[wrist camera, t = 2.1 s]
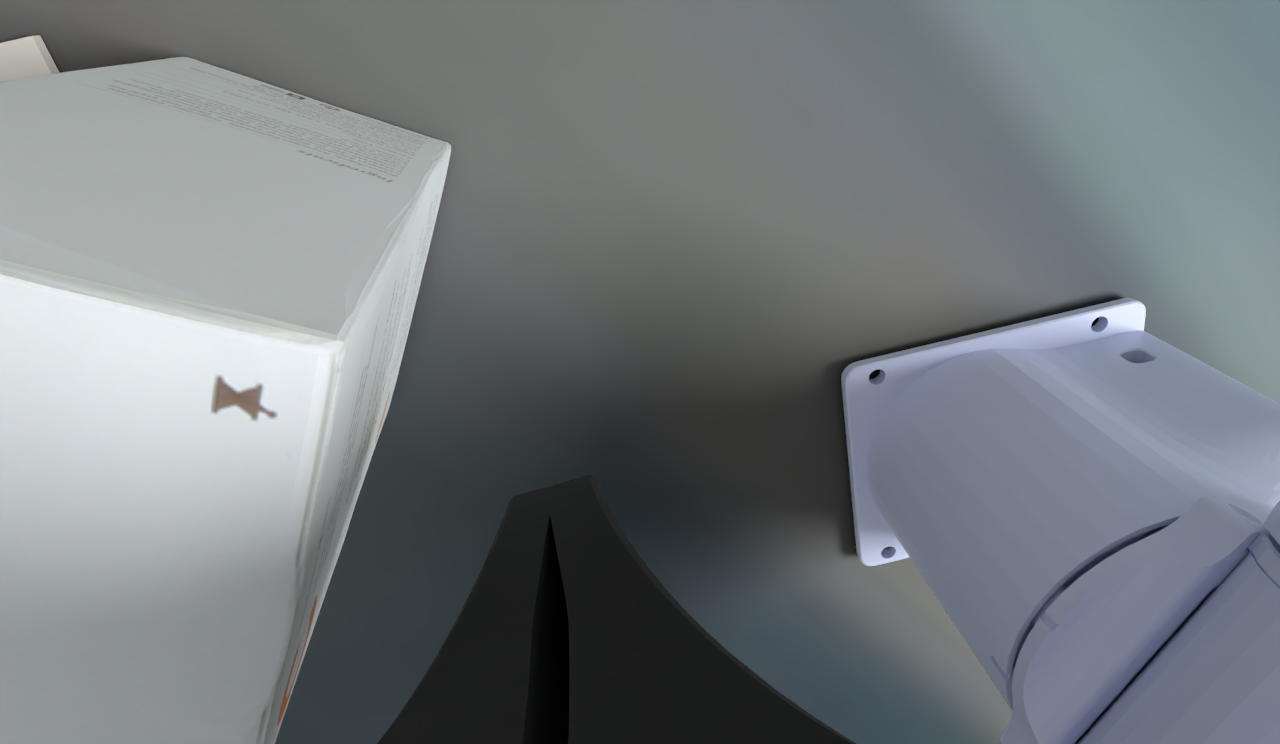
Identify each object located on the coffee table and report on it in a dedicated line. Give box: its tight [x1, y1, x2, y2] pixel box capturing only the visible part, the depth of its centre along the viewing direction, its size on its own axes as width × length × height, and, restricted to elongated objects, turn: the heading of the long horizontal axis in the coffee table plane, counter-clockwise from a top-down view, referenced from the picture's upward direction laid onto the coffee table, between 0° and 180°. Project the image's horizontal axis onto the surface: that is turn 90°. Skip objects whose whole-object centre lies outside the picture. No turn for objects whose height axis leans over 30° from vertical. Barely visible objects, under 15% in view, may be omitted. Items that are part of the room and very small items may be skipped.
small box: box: [0, 57, 451, 744], centre depth 14 cm, size 8×6×13 cm
